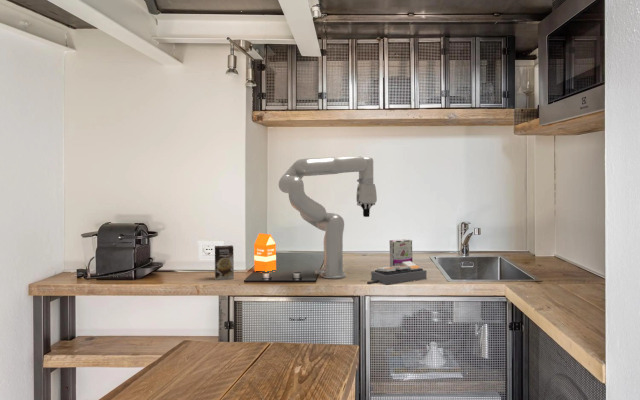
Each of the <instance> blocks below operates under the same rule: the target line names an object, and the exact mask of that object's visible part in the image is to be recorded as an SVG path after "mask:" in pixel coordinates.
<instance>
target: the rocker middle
mask: <svg viewBox="0 0 640 400" xmlns="http://www.w3.org/2000/svg"><path fill="white" fill-rule="evenodd" d="M393 268H396V269H407V268H408V266H393Z"/></svg>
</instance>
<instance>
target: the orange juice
mask: <svg viewBox="0 0 640 400" xmlns="http://www.w3.org/2000/svg"><path fill="white" fill-rule="evenodd" d="M276 247H277V244H276V242H275V240H274V238H273V237H272V234H269V233H268V234H267V233H258V234H257V237H256V239H255V242H254V244H253V248H254V250H253V251H254V252H253V253H254V254H253V259H254V260H253V262H254V263H253V264H254V272H256V271H265V272H267V271H272V270H276V271H277V254H276V253H277V251H276V249H277V248H276Z"/></svg>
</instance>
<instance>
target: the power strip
mask: <svg viewBox="0 0 640 400" xmlns="http://www.w3.org/2000/svg"><path fill="white" fill-rule="evenodd" d="M420 268H421V267H420ZM427 273H428V272H427V270H425V269H423V268H421V269H417V270H410V269H408V268H407V269H396V271H388V272H386V271H377V269H374V270H372V271H371V276H370V277H371V279H370V281H366V284H367V285H369V284H376V283H379V284H382V285H386V286H387V285H393V284H401V283H407V282H408V281H409V282H414V280H415V281H422V280H427Z"/></svg>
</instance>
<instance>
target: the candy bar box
mask: <svg viewBox="0 0 640 400" xmlns="http://www.w3.org/2000/svg"><path fill="white" fill-rule="evenodd" d="M407 261H411V262H413V240H412V239H410V238H409V239H407V238H406V239H392V240H389V267H393V266H404V265H403V264H402V262H407Z"/></svg>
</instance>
